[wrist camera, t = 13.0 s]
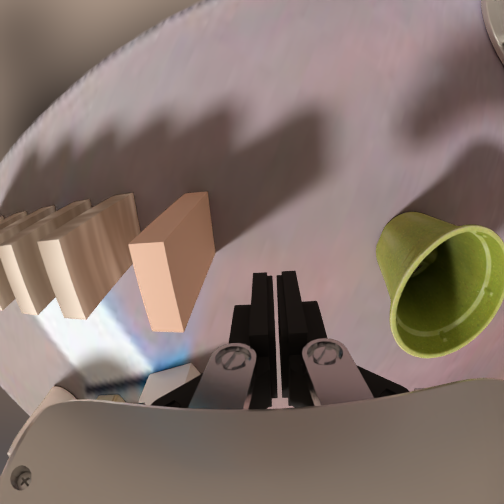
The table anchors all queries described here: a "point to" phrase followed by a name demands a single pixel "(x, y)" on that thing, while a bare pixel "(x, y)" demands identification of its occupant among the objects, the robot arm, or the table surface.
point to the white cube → (166, 382)
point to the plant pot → (440, 282)
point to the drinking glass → (52, 397)
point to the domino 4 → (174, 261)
